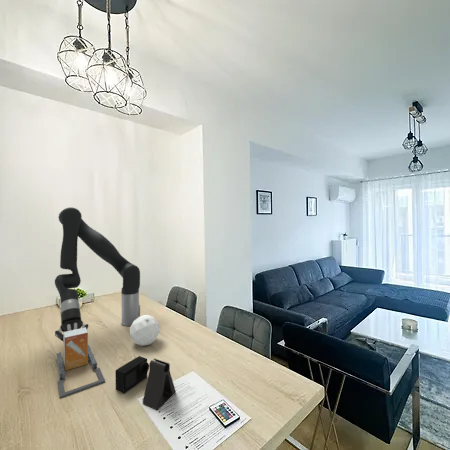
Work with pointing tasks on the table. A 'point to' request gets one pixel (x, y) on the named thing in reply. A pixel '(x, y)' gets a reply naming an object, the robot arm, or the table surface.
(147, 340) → the geodesic sphere
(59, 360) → the grey u-shaped frame
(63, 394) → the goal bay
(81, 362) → the small box
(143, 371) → the digital camera
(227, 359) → the table surface
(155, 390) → the phone stand
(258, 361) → the table surface
